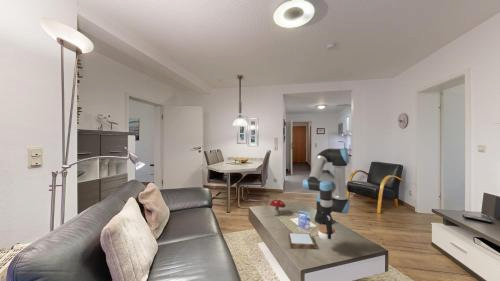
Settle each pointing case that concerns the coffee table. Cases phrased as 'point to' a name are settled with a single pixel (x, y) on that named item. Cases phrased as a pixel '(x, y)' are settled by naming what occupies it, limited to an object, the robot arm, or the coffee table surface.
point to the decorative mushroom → (277, 206)
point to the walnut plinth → (301, 241)
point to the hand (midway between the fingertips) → (326, 238)
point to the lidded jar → (322, 233)
